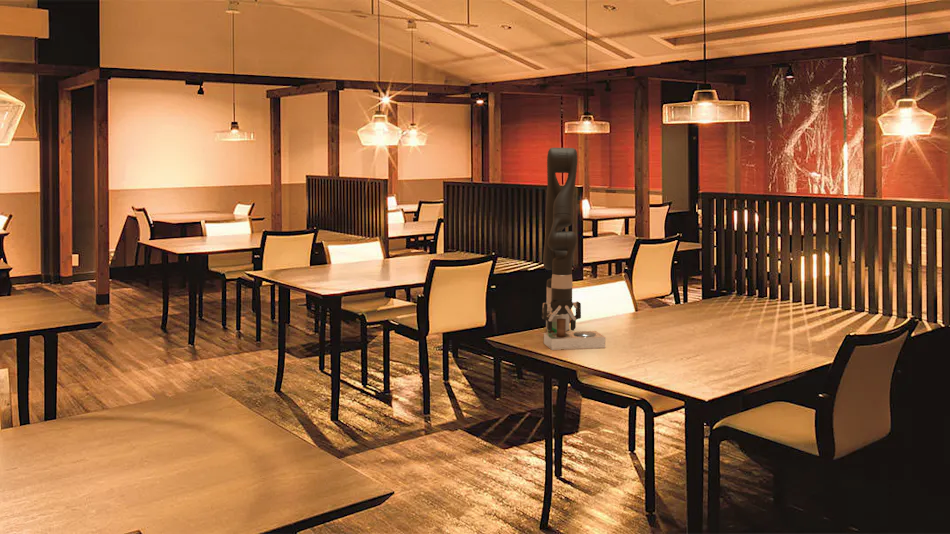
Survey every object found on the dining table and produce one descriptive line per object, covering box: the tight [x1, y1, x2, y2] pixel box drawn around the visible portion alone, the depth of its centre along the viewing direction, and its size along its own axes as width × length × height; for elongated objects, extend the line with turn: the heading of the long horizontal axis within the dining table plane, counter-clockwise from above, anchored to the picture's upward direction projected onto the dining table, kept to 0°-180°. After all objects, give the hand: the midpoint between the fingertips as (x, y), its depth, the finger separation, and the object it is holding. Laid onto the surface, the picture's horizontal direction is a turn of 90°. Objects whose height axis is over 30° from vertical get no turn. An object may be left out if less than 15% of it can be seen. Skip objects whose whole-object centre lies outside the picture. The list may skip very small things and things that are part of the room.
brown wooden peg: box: [557, 318, 567, 337], centre depth 314 cm, size 5×5×10 cm
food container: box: [545, 311, 564, 333], centre depth 325 cm, size 12×6×10 cm, turn 179°
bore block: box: [543, 330, 606, 351], centre depth 315 cm, size 11×20×4 cm, turn 100°
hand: (561, 330), depth 314 cm, fingers open, 8 cm apart
